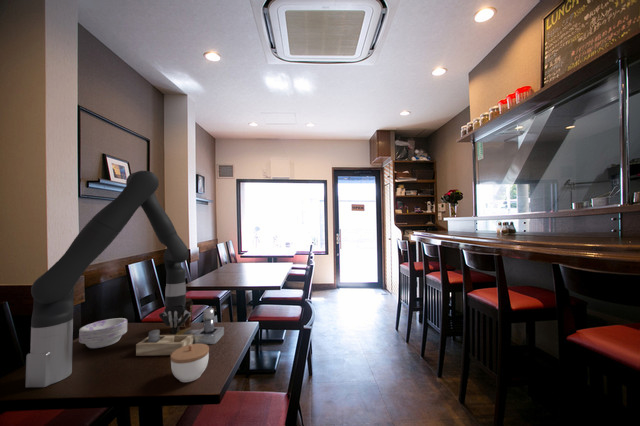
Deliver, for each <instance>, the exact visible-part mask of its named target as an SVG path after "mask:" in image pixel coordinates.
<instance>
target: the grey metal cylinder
mask: <svg viewBox="0 0 640 426" xmlns="http://www.w3.org/2000/svg"><path fill="white" fill-rule="evenodd" d="M202 311H203V327H204V334H213V333H214V327H215V308H213V307H210V308H208V307H207V308H205V309H203V310H202Z"/></svg>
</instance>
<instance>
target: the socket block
mask: <svg viewBox="0 0 640 426" xmlns="http://www.w3.org/2000/svg"><path fill="white" fill-rule="evenodd" d="M198 330H199V331H198V332H197V333H196V334H194V335H193V344H206V345H215V344H217V342H218V341H219V340H220V339H221V338H222V337H223V336H224V335H225V327H224V326H214V333H213V334H204V326H203V327H202V328H201V329H198Z"/></svg>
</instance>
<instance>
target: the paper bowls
mask: <svg viewBox="0 0 640 426" xmlns="http://www.w3.org/2000/svg"><path fill="white" fill-rule="evenodd" d="M78 332H79V334H78V342H79V343H80V344H85V346H86V347H87V348H88V349H100V348H104V347H108V346H112V345H114V344H116V343H117V342H119V341H120V339H121V338H122V336H123V335H125V334H126V333H127V332H128V319H127V318H123V317H118V318H117V317H116V318H108V319H103V320H98V321H94V322H92V323H88V324H86V325H84V326H82V327H80V328H79V330H78Z"/></svg>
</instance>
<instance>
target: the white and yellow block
mask: <svg viewBox="0 0 640 426" xmlns="http://www.w3.org/2000/svg"><path fill="white" fill-rule="evenodd" d="M199 330H200V329H188V330H181V331H179V332H178V333H176V335H194V334H196V333H197V332H198V331H199Z"/></svg>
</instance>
